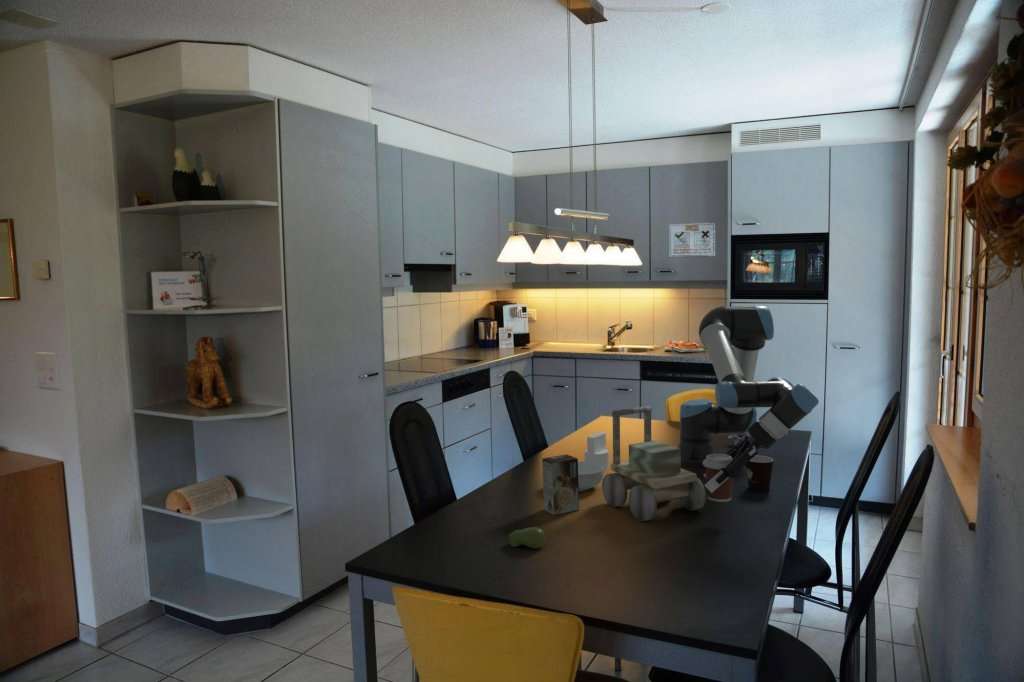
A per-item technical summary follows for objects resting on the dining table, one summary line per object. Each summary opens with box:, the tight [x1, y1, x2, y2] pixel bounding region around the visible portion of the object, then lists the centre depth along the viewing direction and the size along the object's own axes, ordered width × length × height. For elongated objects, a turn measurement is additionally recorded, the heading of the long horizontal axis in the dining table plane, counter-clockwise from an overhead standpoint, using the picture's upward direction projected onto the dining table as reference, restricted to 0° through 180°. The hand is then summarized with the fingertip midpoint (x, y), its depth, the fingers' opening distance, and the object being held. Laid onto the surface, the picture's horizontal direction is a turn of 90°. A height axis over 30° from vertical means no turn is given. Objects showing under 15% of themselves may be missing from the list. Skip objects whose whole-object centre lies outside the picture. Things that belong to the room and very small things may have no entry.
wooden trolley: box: [601, 405, 707, 522], centre depth 202 cm, size 24×21×29 cm
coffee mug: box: [744, 454, 774, 493], centre depth 219 cm, size 12×9×10 cm
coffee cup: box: [703, 453, 734, 503], centre depth 189 cm, size 9×9×12 cm
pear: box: [508, 526, 546, 549], centre depth 176 cm, size 6×5×10 cm
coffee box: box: [541, 454, 580, 516], centre depth 202 cm, size 9×6×16 cm
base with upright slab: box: [584, 431, 610, 470], centre depth 248 cm, size 9×9×12 cm
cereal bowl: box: [578, 460, 605, 492], centre depth 224 cm, size 17×17×7 cm
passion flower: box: [726, 433, 762, 449], centre depth 274 cm, size 11×11×12 cm
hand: (707, 483), depth 190 cm, fingers closed on coffee cup, 9 cm apart
